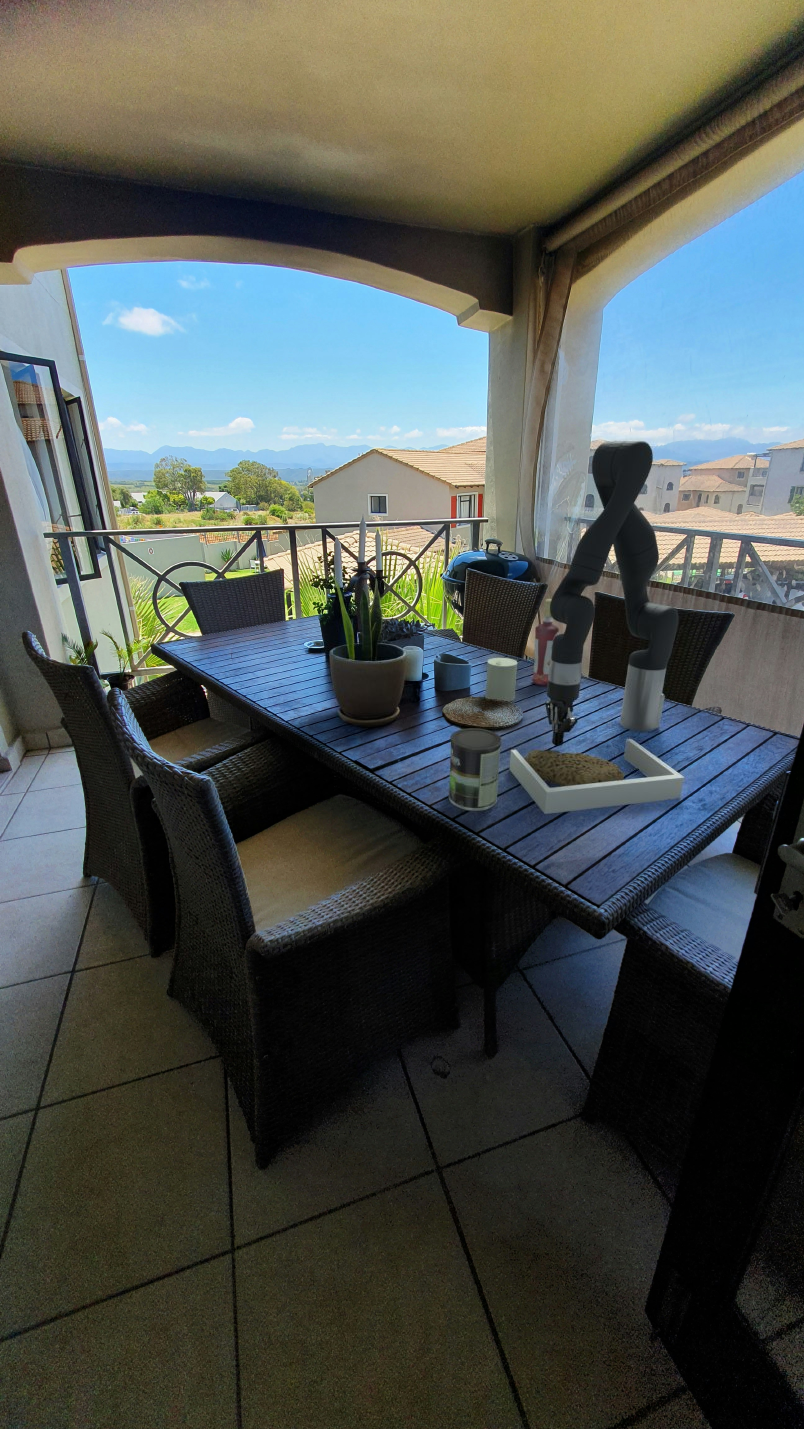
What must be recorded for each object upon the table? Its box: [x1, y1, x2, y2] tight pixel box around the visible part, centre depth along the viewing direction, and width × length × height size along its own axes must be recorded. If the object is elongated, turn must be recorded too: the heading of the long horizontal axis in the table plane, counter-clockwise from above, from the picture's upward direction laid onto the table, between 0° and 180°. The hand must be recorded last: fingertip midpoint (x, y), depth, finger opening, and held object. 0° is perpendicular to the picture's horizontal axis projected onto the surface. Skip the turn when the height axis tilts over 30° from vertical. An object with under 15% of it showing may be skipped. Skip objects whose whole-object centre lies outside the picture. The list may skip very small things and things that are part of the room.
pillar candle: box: [484, 657, 518, 703], centre depth 173 cm, size 9×9×12 cm
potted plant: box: [329, 573, 408, 728], centre depth 154 cm, size 21×22×40 cm
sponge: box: [523, 749, 625, 787], centre depth 123 cm, size 13×8×20 cm
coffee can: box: [448, 727, 502, 812], centre depth 116 cm, size 10×10×14 cm
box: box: [509, 738, 685, 815], centre depth 123 cm, size 30×20×5 cm, turn 101°
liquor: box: [531, 598, 560, 687], centre depth 181 cm, size 7×7×28 cm
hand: (557, 744), depth 139 cm, fingers closed
